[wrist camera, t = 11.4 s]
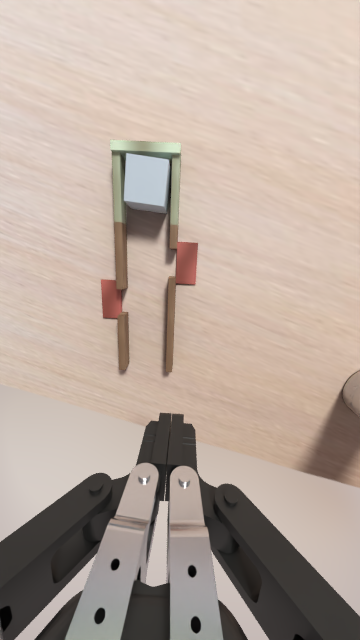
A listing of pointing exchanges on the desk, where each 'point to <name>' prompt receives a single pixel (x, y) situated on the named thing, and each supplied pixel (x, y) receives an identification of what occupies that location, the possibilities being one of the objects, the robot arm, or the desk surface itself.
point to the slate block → (147, 183)
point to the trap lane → (113, 287)
